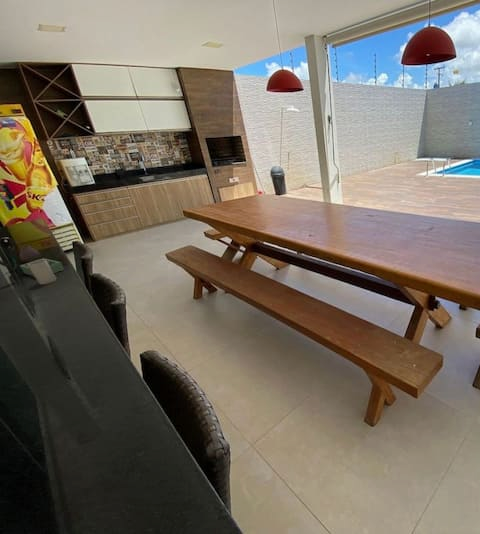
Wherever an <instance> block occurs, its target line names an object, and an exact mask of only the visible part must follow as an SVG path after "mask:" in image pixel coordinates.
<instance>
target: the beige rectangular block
mask: <svg viewBox="0 0 480 534" xmlns="http://www.w3.org/2000/svg"><path fill="white" fill-rule="evenodd" d="M41 259H42V258H41ZM46 259H47V258H44V259H42V260H39V259H38V260H37V261H34V262H33V261H32V262H31V263H30V262H28V263H29V264H28V266H29V268H30V270H31V271H32V273H33V275H34V276H33V277H34V278H35V280H36V282H37V283H38V285H49V284H51V283H54V282H56V281H57V280H58V278H57V275H56V273H55V274H54V273H53V271H52V269H51V267H50V265H49V264H48V262H47V260H46ZM56 279H57V280H56Z"/></svg>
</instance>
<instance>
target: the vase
mask: <svg viewBox="0 0 480 534" xmlns="http://www.w3.org/2000/svg"><path fill="white" fill-rule="evenodd" d="M19 259H20V260H21V261H22V262H23V263H30V262H33V261H36V260H39V259H42V255H41V252H39V250H37V249H36V248H33V247H31V246H30V245H23V246H21V249H20V252H19Z"/></svg>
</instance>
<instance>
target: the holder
mask: <svg viewBox="0 0 480 534" xmlns="http://www.w3.org/2000/svg"><path fill="white" fill-rule="evenodd" d="M42 259H46V260H47V262H48V264H49V265H50V267H51V269H52V271H53V273H55V274H58V273H60V272H59V271H61V272H64V271H65V270H66V269H65V268H64V266H63V264H62V262H61V261H57V260H52V259H48V258H45V257H41V259H38V260H42ZM36 261H37V260H36ZM32 262H34V261H32ZM29 263H31V262H26V263H24V264H20V265H19V266H20V268H21V271H23V273H24V274H25V275H28V276H33V277H35V276H34V275H33V273H32V271H31V270H30V268H29V266H28V264H29ZM63 270H64V271H63ZM57 272H58V273H57Z"/></svg>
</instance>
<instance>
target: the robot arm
mask: <svg viewBox="0 0 480 534" xmlns="http://www.w3.org/2000/svg"><path fill="white" fill-rule="evenodd" d="M0 190H1V191H3V192H4V194H6V195H7V196H5V195H4V194H2V193H0V199H1V200H2V201H4V204H5V206H6V207H7V209H8V211H13V210H14V208H15V207H14V204H13V203H12V202H11V201H12V200H15V198H16V197H15V195H14V194H13V192H12V190H11V189H10V187H9V185H8V184H1V185H0Z"/></svg>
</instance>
